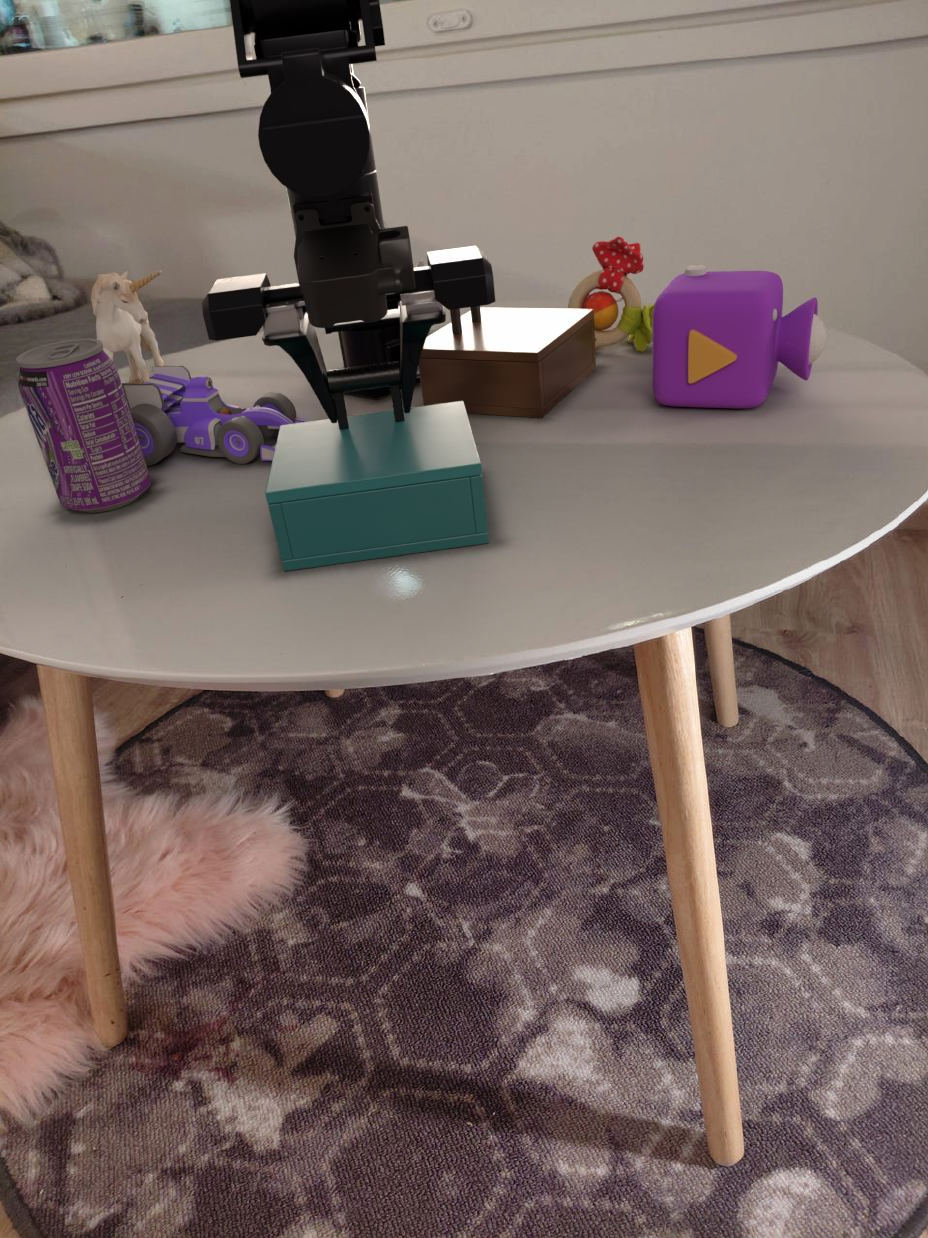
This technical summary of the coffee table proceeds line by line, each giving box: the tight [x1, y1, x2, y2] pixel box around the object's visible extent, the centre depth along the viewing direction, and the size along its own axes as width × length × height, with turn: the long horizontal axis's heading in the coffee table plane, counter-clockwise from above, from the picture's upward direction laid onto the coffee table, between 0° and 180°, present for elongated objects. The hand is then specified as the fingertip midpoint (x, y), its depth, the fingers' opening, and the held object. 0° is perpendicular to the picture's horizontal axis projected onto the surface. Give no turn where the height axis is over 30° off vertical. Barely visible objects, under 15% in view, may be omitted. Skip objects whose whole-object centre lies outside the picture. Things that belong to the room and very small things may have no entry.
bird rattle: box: [567, 236, 655, 353], centre depth 92 cm, size 6×11×9 cm
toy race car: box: [121, 365, 311, 467], centre depth 81 cm, size 10×15×6 cm, turn 72°
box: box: [418, 318, 597, 419], centre depth 87 cm, size 12×14×5 cm
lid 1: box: [264, 361, 483, 505], centre depth 63 cm, size 12×14×5 cm
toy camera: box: [651, 264, 827, 409], centre depth 78 cm, size 11×14×10 cm
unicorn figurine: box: [90, 269, 165, 383], centre depth 95 cm, size 7×20×13 cm, turn 26°
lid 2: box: [420, 306, 594, 362], centre depth 84 cm, size 12×14×5 cm
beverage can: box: [15, 338, 152, 514], centre depth 72 cm, size 7×7×12 cm
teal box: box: [267, 474, 490, 572], centre depth 65 cm, size 12×14×5 cm
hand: (370, 416), depth 67 cm, fingers closed on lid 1, 5 cm apart
